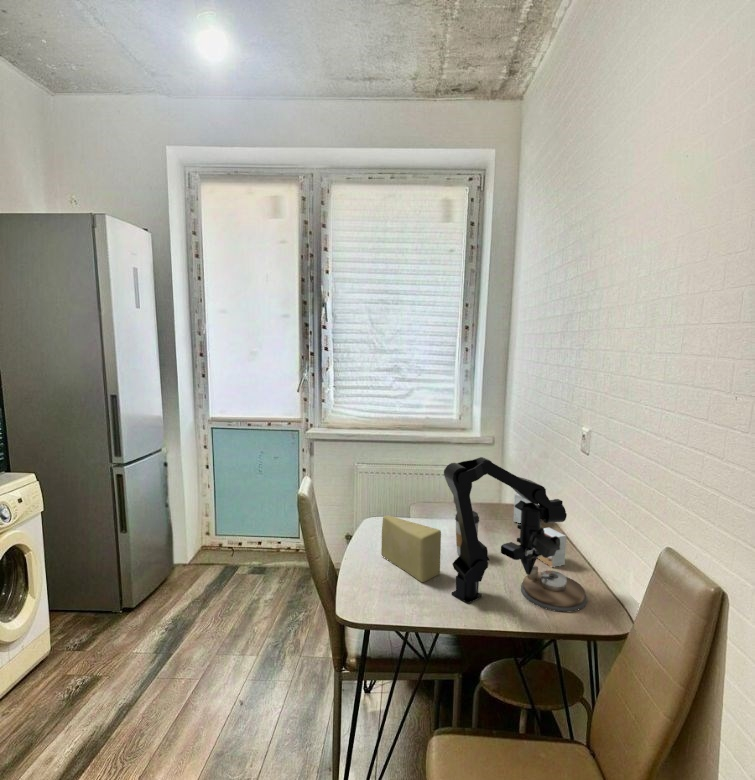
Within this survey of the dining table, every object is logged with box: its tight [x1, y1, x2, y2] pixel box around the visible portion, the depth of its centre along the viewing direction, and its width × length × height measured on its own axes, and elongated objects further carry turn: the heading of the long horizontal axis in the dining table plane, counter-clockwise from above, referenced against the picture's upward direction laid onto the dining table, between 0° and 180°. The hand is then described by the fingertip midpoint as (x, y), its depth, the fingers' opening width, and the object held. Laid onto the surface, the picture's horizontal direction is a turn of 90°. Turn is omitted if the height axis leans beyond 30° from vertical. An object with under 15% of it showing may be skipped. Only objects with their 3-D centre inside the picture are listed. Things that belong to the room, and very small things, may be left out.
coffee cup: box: [454, 510, 480, 557], centre depth 156 cm, size 8×8×15 cm
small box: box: [537, 527, 567, 568], centre depth 152 cm, size 8×6×10 cm
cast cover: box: [541, 570, 567, 592], centre depth 131 cm, size 7×7×3 cm
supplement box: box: [512, 492, 539, 524], centre depth 188 cm, size 7×7×13 cm
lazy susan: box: [522, 564, 586, 607], centre depth 131 cm, size 17×17×5 cm
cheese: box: [380, 514, 442, 583], centre depth 147 cm, size 22×10×15 cm, turn 44°
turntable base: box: [520, 581, 587, 613], centre depth 132 cm, size 18×19×1 cm
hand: (528, 574), depth 134 cm, fingers closed
